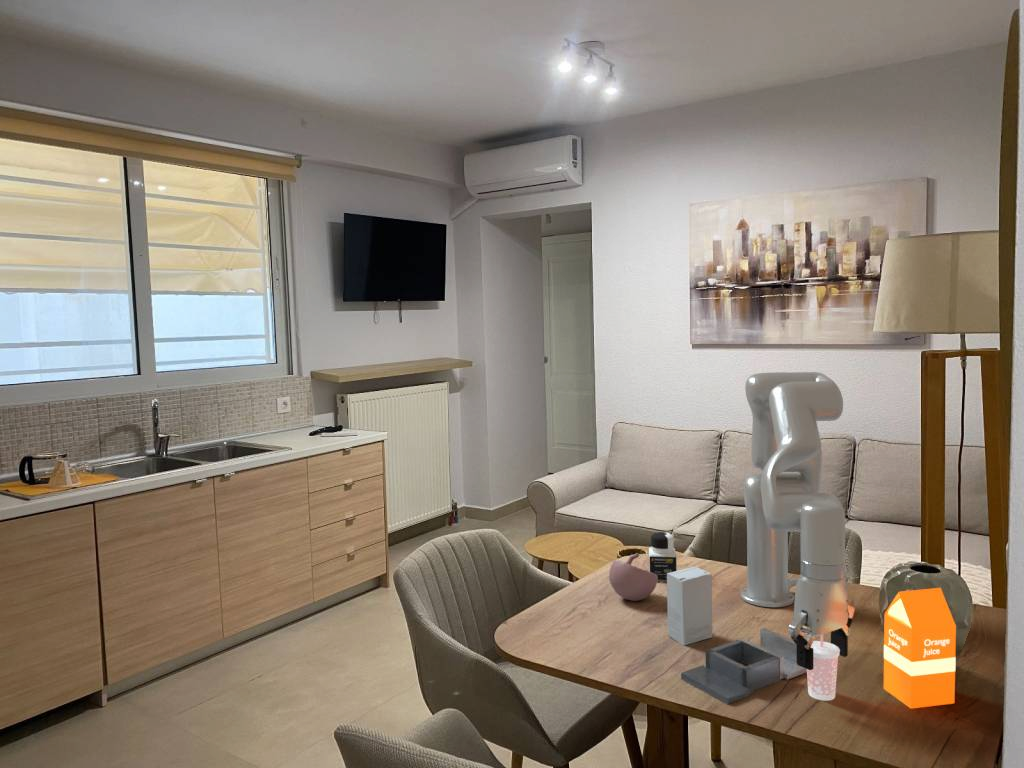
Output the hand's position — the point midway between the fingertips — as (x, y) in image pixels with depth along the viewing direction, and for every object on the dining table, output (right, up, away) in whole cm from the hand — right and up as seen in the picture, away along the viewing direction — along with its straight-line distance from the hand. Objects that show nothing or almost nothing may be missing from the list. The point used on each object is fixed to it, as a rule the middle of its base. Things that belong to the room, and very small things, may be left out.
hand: (822, 660), depth 139 cm
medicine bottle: (-16, -2, +67) cm, 69 cm away
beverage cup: (0, -7, +1) cm, 7 cm away
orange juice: (+17, -7, -1) cm, 19 cm away
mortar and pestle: (-26, -4, +51) cm, 58 cm away
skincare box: (-18, -5, +27) cm, 33 cm away
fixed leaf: (-15, -7, +7) cm, 18 cm away
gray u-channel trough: (-5, -6, +13) cm, 15 cm away
